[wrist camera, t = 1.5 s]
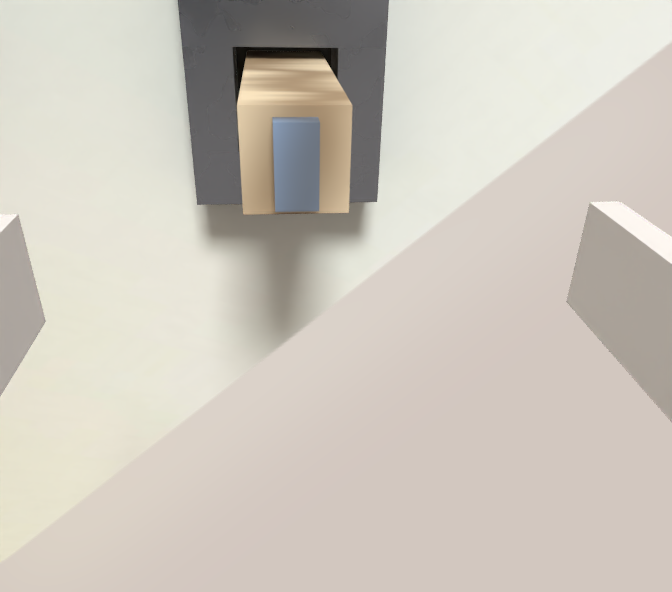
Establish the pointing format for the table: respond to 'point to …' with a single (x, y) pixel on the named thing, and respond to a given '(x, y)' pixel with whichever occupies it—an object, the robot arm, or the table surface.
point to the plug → (293, 135)
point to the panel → (279, 31)
